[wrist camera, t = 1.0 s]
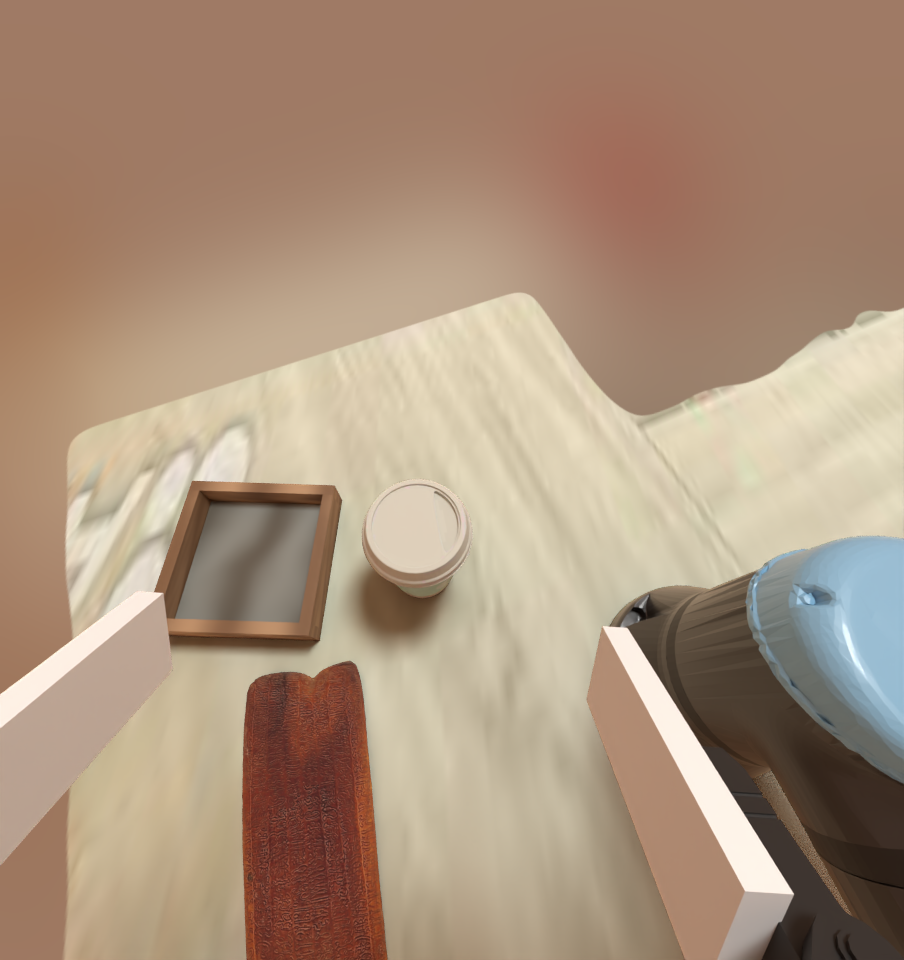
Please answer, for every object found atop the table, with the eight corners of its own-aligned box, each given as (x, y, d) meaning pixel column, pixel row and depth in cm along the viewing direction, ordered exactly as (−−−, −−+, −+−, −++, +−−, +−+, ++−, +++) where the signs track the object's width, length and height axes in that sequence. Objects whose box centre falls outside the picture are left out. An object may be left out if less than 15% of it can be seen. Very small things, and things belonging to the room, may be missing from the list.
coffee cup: (447, 627, 40) (448, 600, 29) (364, 592, 41) (336, 554, 30) (479, 545, 43) (490, 494, 33) (402, 515, 45) (388, 457, 34)
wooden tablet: (248, 680, 38) (240, 679, 36) (361, 656, 39) (358, 654, 38) (240, 1154, 26) (228, 1181, 25) (404, 1101, 27) (401, 1124, 26)
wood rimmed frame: (341, 500, 45) (334, 485, 42) (319, 640, 39) (308, 635, 36) (209, 495, 45) (192, 480, 42) (165, 635, 39) (141, 630, 36)
